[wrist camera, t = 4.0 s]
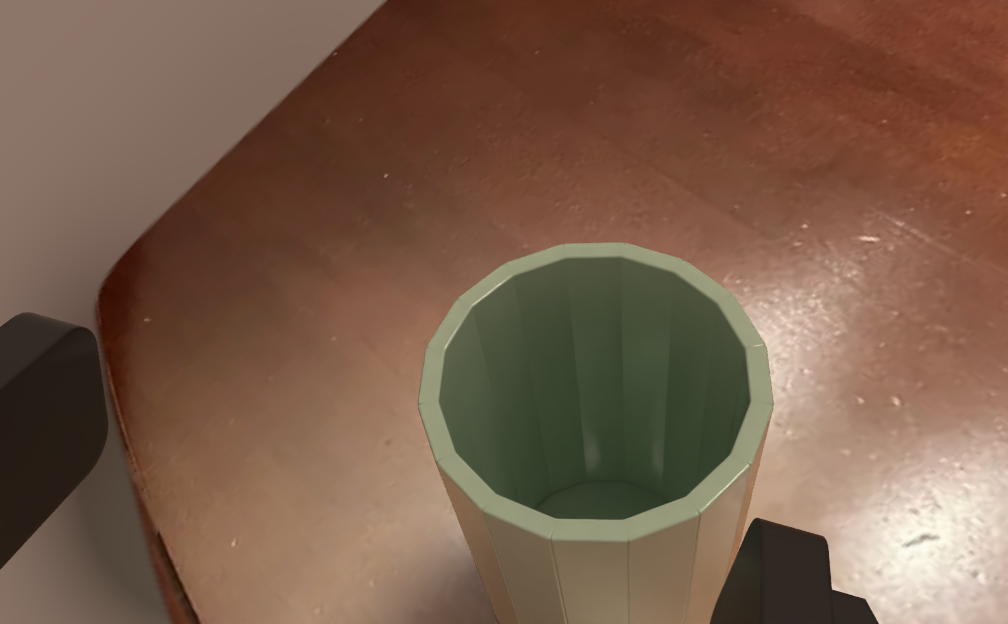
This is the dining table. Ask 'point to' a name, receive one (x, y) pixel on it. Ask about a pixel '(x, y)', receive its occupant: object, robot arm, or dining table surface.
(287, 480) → the dining table surface
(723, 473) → the pen cup
